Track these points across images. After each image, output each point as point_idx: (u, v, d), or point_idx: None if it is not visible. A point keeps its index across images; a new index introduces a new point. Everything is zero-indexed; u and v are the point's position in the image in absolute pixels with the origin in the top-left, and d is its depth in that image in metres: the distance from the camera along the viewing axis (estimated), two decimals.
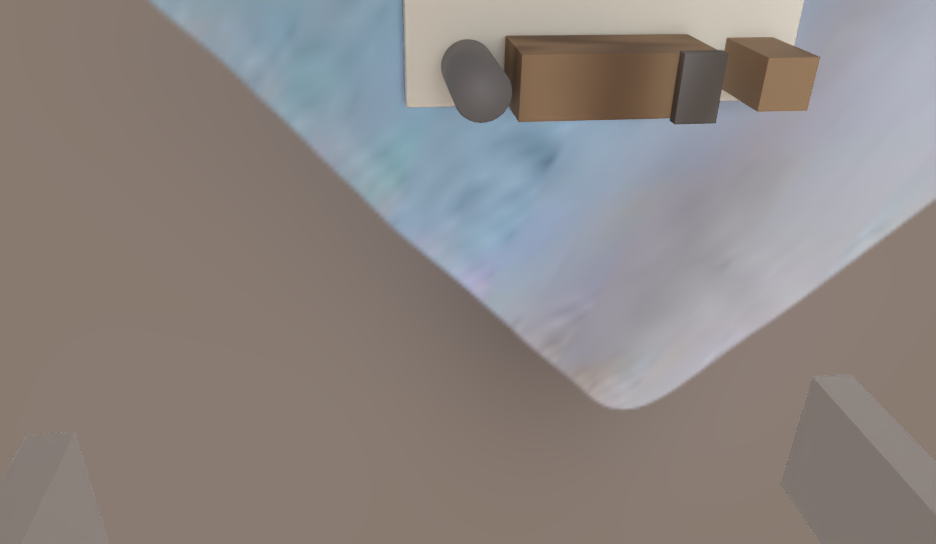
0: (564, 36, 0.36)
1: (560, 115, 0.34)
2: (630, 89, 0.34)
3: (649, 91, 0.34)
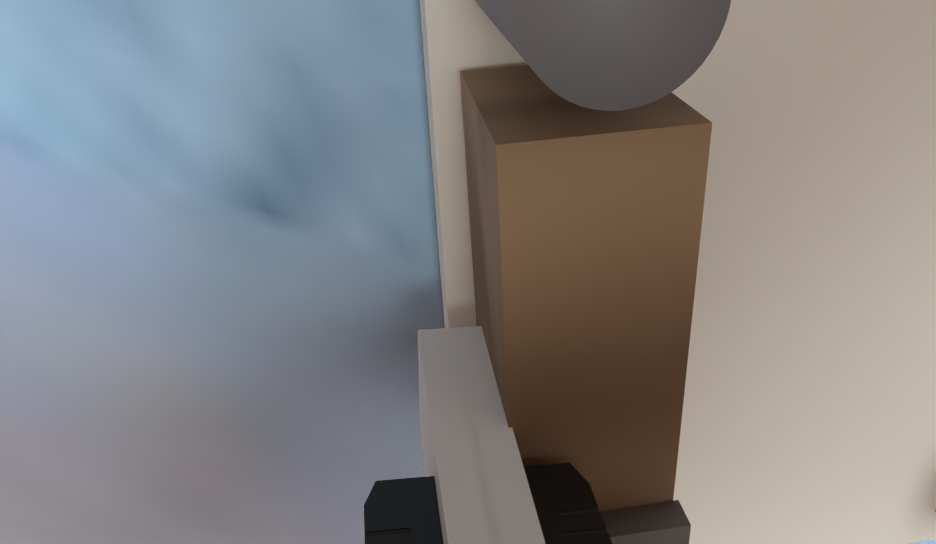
0: None
1: (517, 268, 0.11)
2: (590, 425, 0.13)
3: (583, 465, 0.13)
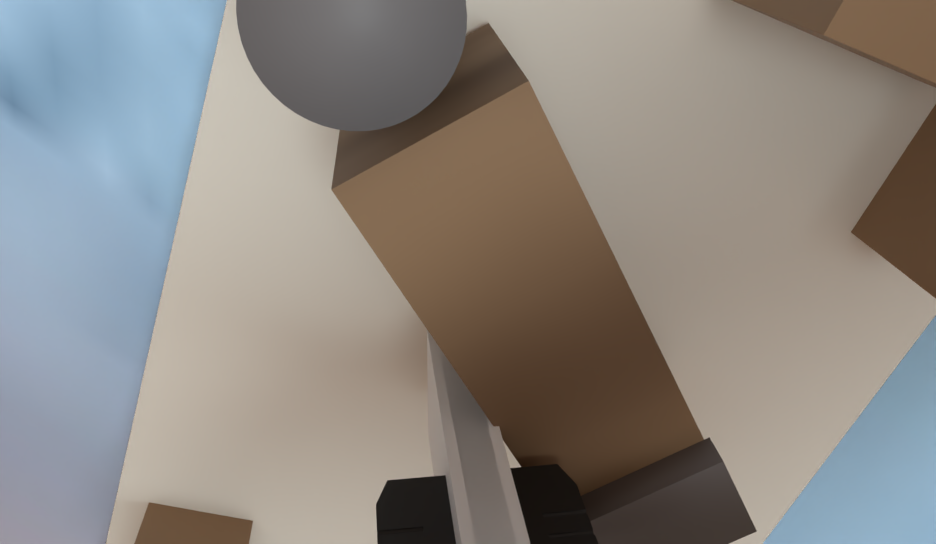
0: None
1: (417, 286, 0.11)
2: (574, 399, 0.12)
3: (590, 436, 0.13)
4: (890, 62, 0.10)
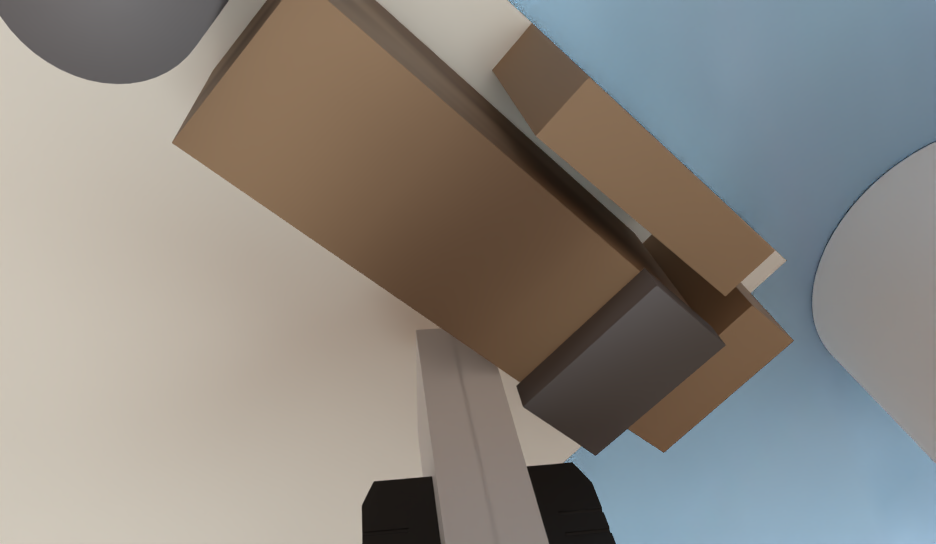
0: (431, 52, 0.14)
1: (292, 208, 0.11)
2: (492, 270, 0.12)
3: (524, 301, 0.13)
4: (585, 177, 0.12)
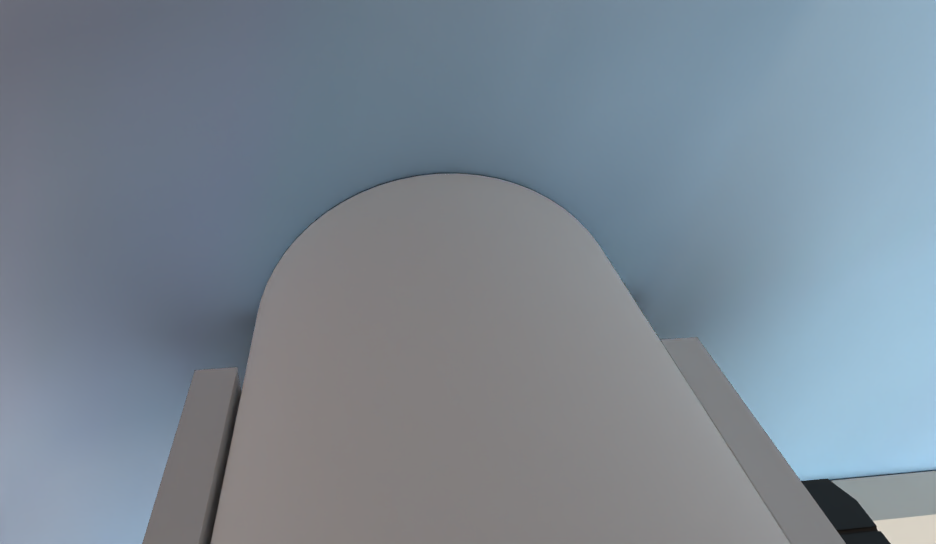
0: None
1: None
2: None
3: None
4: None
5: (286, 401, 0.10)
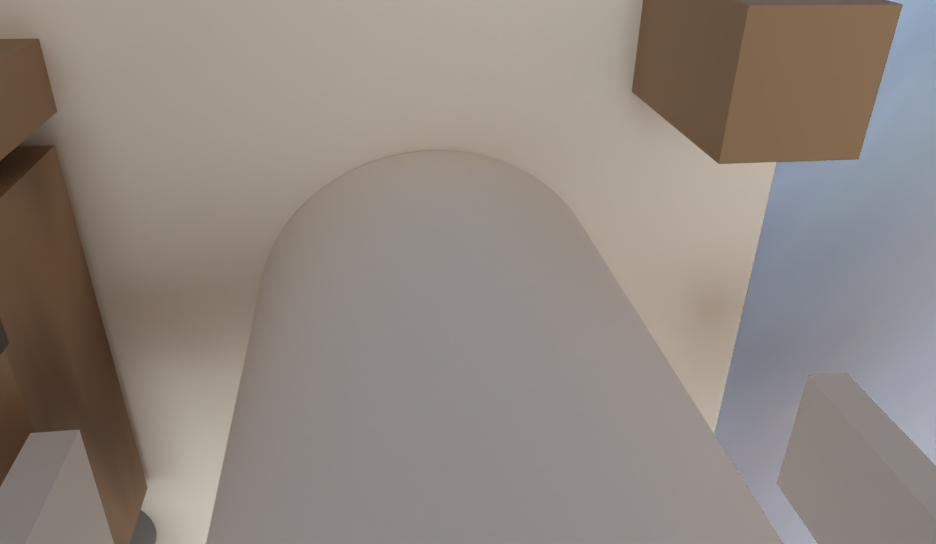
0: None
1: None
2: None
3: None
4: None
5: (288, 344, 0.12)
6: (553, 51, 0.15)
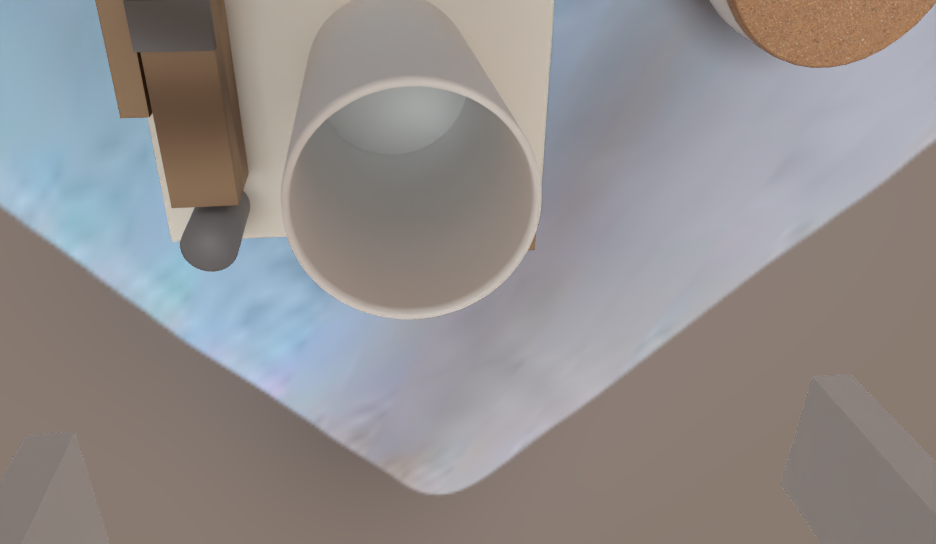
0: None
1: (227, 166, 0.34)
2: (188, 97, 0.32)
3: (187, 77, 0.32)
4: (143, 90, 0.32)
5: (326, 40, 0.31)
6: None
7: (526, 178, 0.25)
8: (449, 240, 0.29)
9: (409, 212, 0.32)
